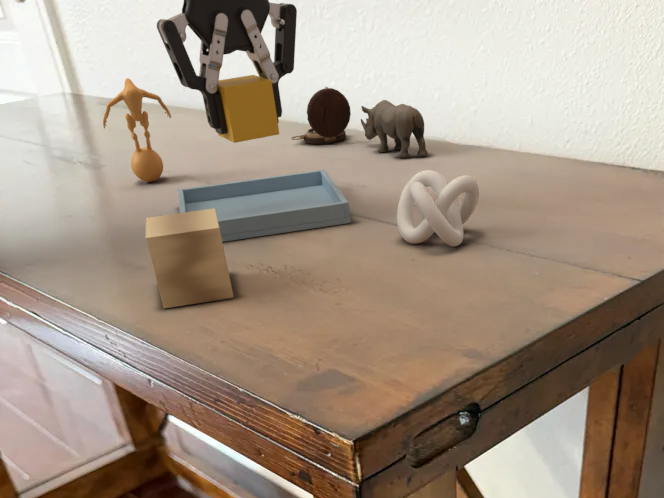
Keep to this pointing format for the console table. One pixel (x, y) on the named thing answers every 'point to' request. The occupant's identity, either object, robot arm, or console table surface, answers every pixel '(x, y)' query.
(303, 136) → the compass
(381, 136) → the rhino figurine
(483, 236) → the console table surface
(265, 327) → the console table surface
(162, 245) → the base block
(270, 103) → the top block
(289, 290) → the console table surface
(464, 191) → the knot
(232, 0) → the robot arm
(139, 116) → the figurine
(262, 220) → the tray
